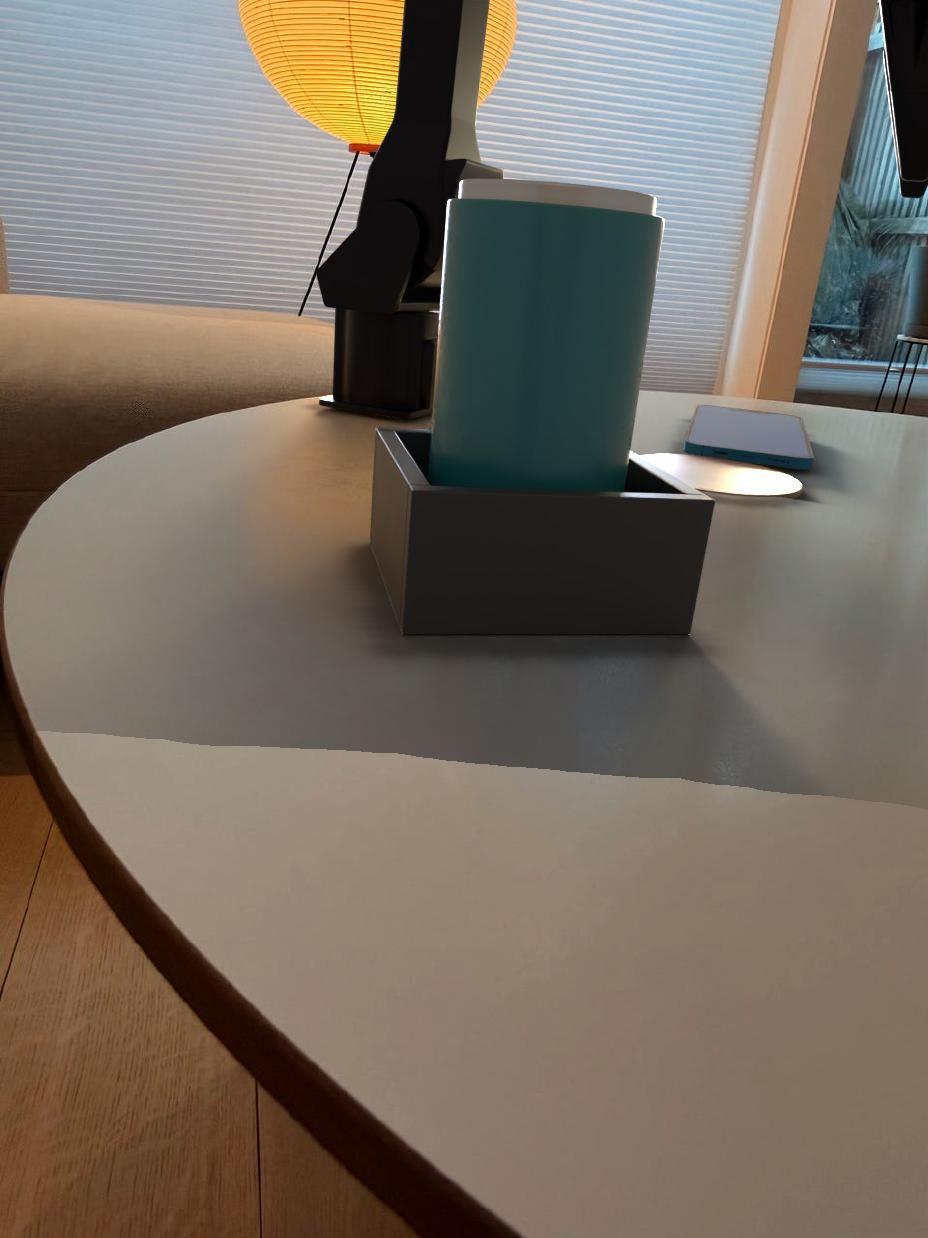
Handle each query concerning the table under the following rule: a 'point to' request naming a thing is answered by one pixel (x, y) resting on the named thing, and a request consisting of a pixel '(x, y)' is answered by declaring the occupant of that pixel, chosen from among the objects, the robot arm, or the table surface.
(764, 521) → the table surface
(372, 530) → the box
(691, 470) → the coaster
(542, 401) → the can
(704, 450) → the smartphone
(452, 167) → the robot arm
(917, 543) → the table surface
